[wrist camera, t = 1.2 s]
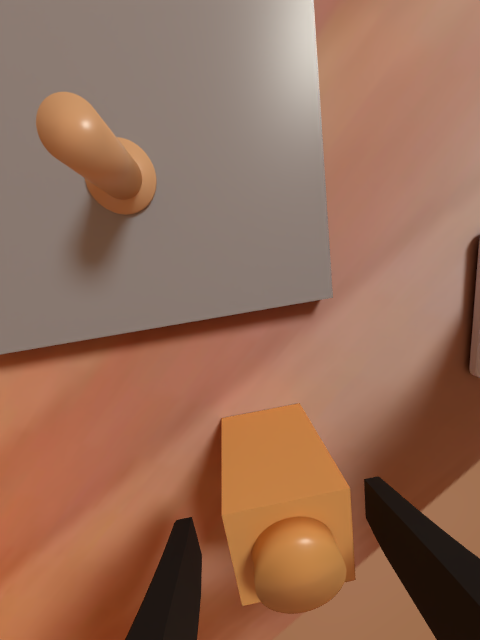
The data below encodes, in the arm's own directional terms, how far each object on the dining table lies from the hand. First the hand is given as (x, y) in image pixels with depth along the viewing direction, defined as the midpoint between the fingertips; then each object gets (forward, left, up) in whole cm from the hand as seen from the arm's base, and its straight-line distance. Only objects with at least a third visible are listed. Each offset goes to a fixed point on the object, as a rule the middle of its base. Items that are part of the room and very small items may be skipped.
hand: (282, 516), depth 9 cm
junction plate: (+4, -14, -4) cm, 15 cm away
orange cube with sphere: (0, 0, -4) cm, 4 cm away
